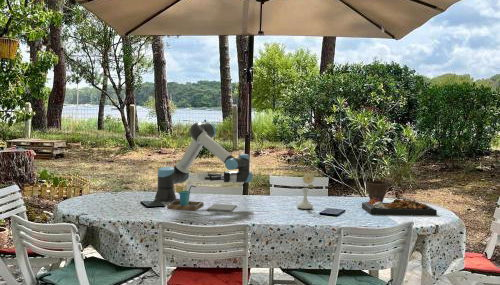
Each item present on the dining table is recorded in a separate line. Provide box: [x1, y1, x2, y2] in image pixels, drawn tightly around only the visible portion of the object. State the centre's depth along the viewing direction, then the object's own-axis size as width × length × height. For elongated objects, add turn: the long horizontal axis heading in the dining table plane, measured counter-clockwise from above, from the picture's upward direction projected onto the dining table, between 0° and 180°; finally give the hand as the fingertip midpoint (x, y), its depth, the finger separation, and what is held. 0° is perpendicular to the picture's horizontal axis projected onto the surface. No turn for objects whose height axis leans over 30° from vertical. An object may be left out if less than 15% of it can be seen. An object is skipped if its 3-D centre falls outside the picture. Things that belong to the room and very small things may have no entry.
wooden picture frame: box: [167, 199, 204, 211], centre depth 426 cm, size 20×18×2 cm
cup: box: [175, 185, 197, 206], centre depth 425 cm, size 14×8×15 cm, turn 90°
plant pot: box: [366, 180, 388, 203], centre depth 457 cm, size 15×15×16 cm
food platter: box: [361, 197, 438, 217], centre depth 429 cm, size 45×25×10 cm, turn 93°
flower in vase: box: [296, 173, 315, 210], centre depth 430 cm, size 13×11×25 cm
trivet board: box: [206, 203, 238, 213], centre depth 424 cm, size 16×20×1 cm
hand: (198, 177), depth 426 cm, fingers open, 13 cm apart
